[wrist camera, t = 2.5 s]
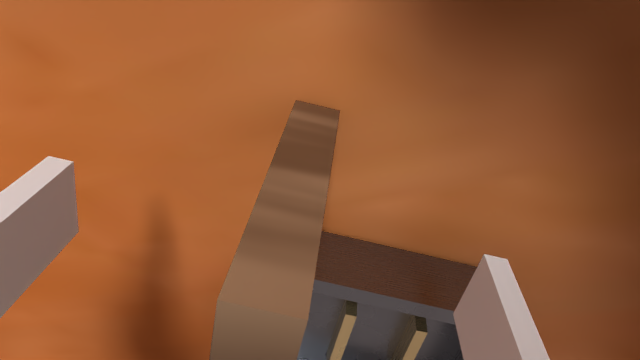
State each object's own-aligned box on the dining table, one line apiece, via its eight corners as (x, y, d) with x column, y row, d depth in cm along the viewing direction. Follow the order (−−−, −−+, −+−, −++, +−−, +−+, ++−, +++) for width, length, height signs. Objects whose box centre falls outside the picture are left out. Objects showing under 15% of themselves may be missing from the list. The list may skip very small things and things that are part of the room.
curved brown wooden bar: (295, 100, 20) (217, 299, 10) (340, 110, 20) (307, 319, 10) (284, 158, 22) (206, 383, 11) (325, 168, 22) (284, 400, 11)
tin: (295, 224, 24) (283, 272, 20) (510, 274, 24) (531, 328, 21) (262, 364, 29) (250, 417, 26) (435, 402, 30) (443, 459, 27)
